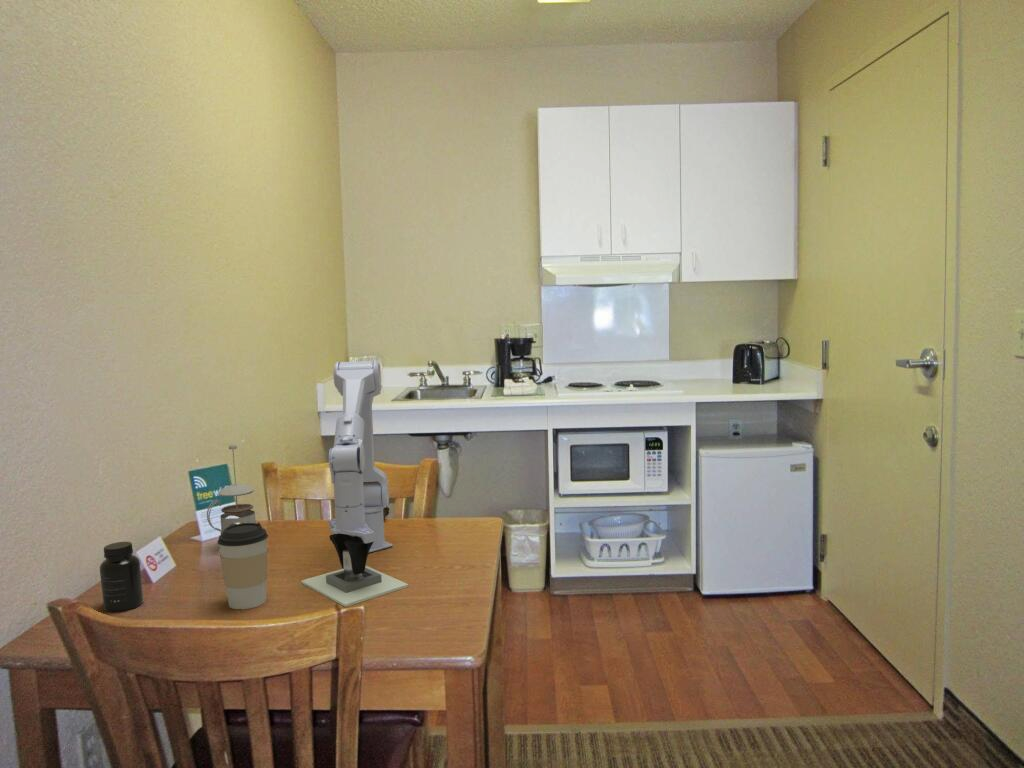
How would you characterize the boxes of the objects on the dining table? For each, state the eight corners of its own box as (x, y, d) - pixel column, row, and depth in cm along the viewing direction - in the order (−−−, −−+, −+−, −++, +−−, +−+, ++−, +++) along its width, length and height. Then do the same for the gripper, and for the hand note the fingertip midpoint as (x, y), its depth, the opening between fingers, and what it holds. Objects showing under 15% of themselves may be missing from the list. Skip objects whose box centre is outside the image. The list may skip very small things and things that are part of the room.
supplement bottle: (113, 600, 146) (107, 540, 145) (149, 597, 147) (144, 538, 145) (96, 614, 139) (91, 551, 138) (134, 611, 140) (129, 549, 139)
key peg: (340, 579, 150) (338, 550, 149) (357, 573, 153) (356, 545, 152) (351, 583, 147) (349, 554, 147) (368, 578, 150) (366, 549, 149)
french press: (267, 548, 176) (260, 443, 173) (215, 559, 169) (207, 450, 167) (255, 538, 184) (248, 438, 181) (205, 548, 177) (197, 444, 175)
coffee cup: (223, 615, 137) (217, 535, 135) (221, 598, 145) (215, 523, 144) (274, 606, 140) (269, 528, 139) (269, 590, 149) (264, 516, 147)
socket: (301, 582, 152) (300, 573, 152) (361, 565, 161) (360, 556, 161) (345, 607, 139) (344, 596, 138) (408, 586, 148) (407, 576, 148)
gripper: (313, 501, 151) (317, 566, 152) (350, 514, 140) (353, 584, 142) (344, 495, 156) (348, 558, 157) (382, 507, 145) (385, 575, 146)
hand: (353, 570), depth 150 cm, fingers closed on key peg, 4 cm apart
